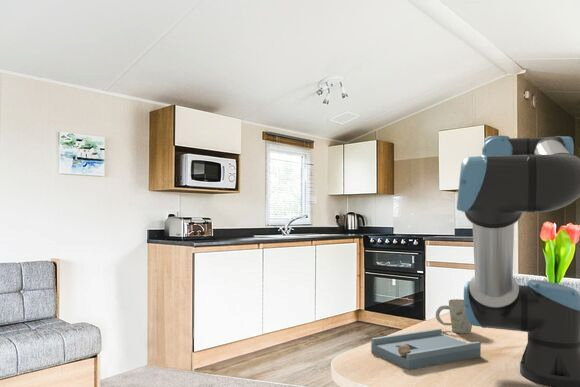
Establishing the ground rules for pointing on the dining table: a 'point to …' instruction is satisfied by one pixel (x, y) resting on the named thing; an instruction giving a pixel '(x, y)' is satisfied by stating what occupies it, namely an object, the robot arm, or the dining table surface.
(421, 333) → the plate
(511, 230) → the robot arm
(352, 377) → the dining table surface
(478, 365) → the dining table surface
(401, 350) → the cork ball
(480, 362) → the dining table surface
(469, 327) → the mug
